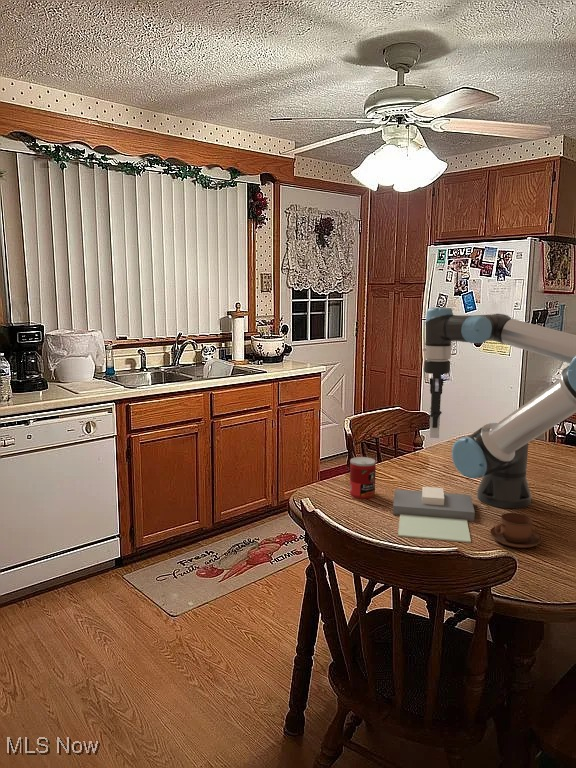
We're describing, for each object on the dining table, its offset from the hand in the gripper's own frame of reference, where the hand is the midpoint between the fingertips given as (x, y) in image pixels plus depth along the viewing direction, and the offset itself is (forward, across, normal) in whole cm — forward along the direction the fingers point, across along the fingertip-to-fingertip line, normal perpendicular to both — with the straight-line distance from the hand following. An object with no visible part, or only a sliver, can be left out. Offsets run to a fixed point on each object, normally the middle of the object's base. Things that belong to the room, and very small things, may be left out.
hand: (434, 436), depth 176 cm
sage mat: (+19, +26, 0) cm, 32 cm away
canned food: (+19, +5, -21) cm, 29 cm away
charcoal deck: (+19, +12, 0) cm, 22 cm away
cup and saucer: (+19, +30, +20) cm, 41 cm away
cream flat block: (+16, +11, 0) cm, 19 cm away
